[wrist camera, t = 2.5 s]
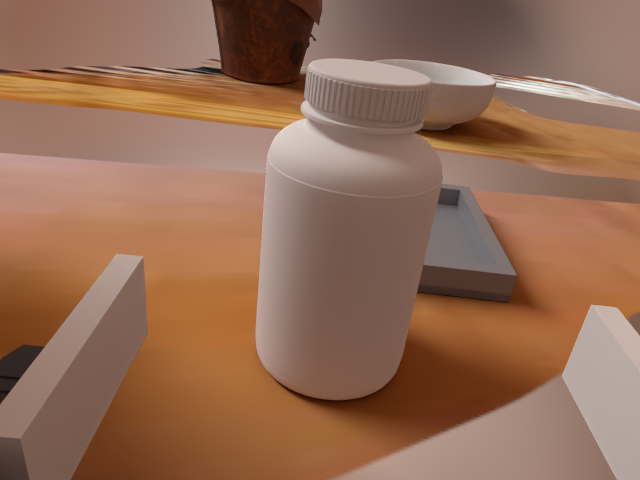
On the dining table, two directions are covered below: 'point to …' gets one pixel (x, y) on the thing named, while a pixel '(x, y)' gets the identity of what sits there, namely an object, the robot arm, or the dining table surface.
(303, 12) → the brown plant pot
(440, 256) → the tray
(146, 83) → the dining table surface
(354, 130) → the pill bottle
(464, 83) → the cereal bowl
